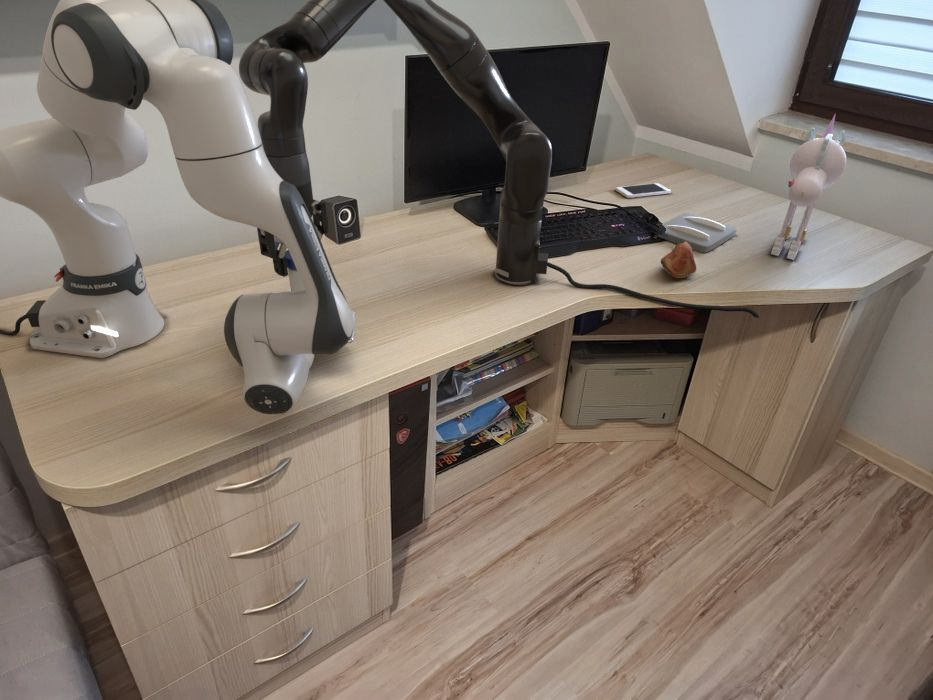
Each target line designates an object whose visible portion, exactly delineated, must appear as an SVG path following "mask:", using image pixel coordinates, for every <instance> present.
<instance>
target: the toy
mask: <svg viewBox="0 0 933 700" xmlns="http://www.w3.org/2000/svg"><path fill="white" fill-rule="evenodd" d="M836 116H837V115H836V112H835V113H834V115H833V116H832V119H831V120H830V122H829V124H828V126H827V128H826V130H825V131H824V133H823V134H822V136H821V137H817V138H816V136H817V128H815V127H810V129H809V130H808V133H807V135H806V136H805V142H804V143H802V144H801V145H800V146H798V148H797V149H796V150H795V151H794V152H793V154H792V156H791V159H790V162H789V173H790V175H791V178H792V180H789V181H788V188H789V189H788V198H789V201H790V202H789V205H788V209H787V212H786V215H785V218H784V221H783V223H782V227H781V230H780V233H779V235H777V236H776V239H775V241H774V243H773V246H772V249H771V253H770V255H772V256H776V257H779V255H780V253H781V252H782V249H783V248H784V246H785V242H786V240H789V238H790V234H791V232H792V227H793V225H792V223H793V219H794V217H795V213H796V211H797V208H798V207H801V208H802V207H804V208H805V210H804V213H803V216H802V219H801V222H800V225H799V227H798V230H797V233H796V237H795V239H793V240H792V242H791V245H790V247H789V250H788V253H787V256H786V259H788V260H792V261H794V260H795V259H796V257H797V255H798V253H799V251H800V249H801V245H802V244H803V243H804V240H805V238H806V235H807V231H808V228H807V227H808V224H809V221H810V218H811V215H812V212H813V209H814V207H815V204H816V202H817V201H818V200H819V199H820V197H821V195H822V193H823V191H824V189H827V188H828V187H831V186H832V185H834V184H835V183H836V182H837V181H838V180H840V178H841V177H842V176H843V174H844V173H845V170H846V168H847V167H846V166H847V154H846V152H845V150H844V148H843V145H844V143H845V141H846V140H847V134H846V131H845V130H840V131H839V132H838V133H837V135H836V137H835V139H833V129H834V125H835V120H836ZM841 135H842V138H841V141H840V137H841Z"/></svg>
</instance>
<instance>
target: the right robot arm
mask: <svg viewBox="0 0 933 700" xmlns="http://www.w3.org/2000/svg"><path fill="white" fill-rule="evenodd" d="M376 1H377V0H307V1H306V2H305V3H303V5H302V6H301V7H300V8H298V10H297V11H296V12H295V13H294V14H292V16H291V17H290V18H289V19H288V20H287V21H286V22H284V23H282V24H280V25H278V26H275V27H274V28H273V29H271V30H269V31H267V32H266V33H264V34H262V35H261V36H259V37H257V38H256V39H254V40H253V41H252V42H251V43H249V45H248V46H247V47H246V48H245V49H244V51H243V52H242V54H241V56H240V59H239V62H238V73H239V74H238V75H239V78H240V80H241V82H242V84H244V86H245V87H246V88H247V89H249V90H251V91H252V92H254V93H257V94H260V95H264V96H269V99H270V104H269V105H270V106H269V110H268V111H264V112H263V113H261V114H260V115H259V116H258V119H257V126H258V129H259V133H260V137H261V141H262V145H263V149H264V152H265V154H266V157H267V159H268V161H269V162H270V164H271V166H272V167H273V169H274V170H275V171H276V173H277V174H278V175H279V176H280V177H281V178H282V179H283V180H284V181H286V182H288V183H290V184H292V185H294V186H295V187H296V188H297V190H298V191H299V193H300V195H301V197H302V198H303V200H304V202H305V204H306V207H307V209H308V211H309V213H310V216H311V218H312V220H313V223H314V225H315V228H316V230H317V233H318V235H319V238H320V240H322V239H323V235H327V234H328V233H329V229H330V228H329V222H328V214H327V205H326V202H324V201H321V200H317V199H314V193H313V186H312V178H311V168H310V162H309V158H308V154H307V149H306V148H307V147H306V139H305V131H304V120H305V119H304V118H305V113H306V105H307V99H308V98H307V96H308V91H309V76H308V72H307V68H306V65H305V64H309V63H316V62H318V61H320V60H321V59H323V58H324V57H325V55H326V54H328V53H329V52H330V50H332V48H333V47H335V46H336V44H337V43H338V42H339V41H340V40H341V39H342V38H343V37H344V36H345V35H346V34H347V33H348V31H349V30H350V29H351V28H352V27H353V26H354V25H355V24H356V22H357V21H358V20H359V19H360V18H361V17H362V16H363V15H364V14H365V13H366V12H367V10H369V8H370V7H371V6H372V5H374V3H375V2H376ZM382 1H383V2H384V3H385V4H386V6H388V8H389V9H390V10H391V11H392V12H393V13H394V14H395V15H396V16H397V18H398V19H399V20H400V21H401V22H402V24H403V25H404V26H405V27H406V28H407V30H408V31H409V32H410V34H411V36H413V38H414V39H415V41H417V43H418V45H420V47H421V48H422V49H423V50H424V52H425V53H426V55H427V56H428V57H429V59H430V60H431V61H432V63H433V64H434V66H435V67H436V69H437V70H438V71H439V73H440V75H441V76H442V77H443V78H444V80H445V81H446V82H447V84H448V85H449V86H450V88H451V89H452V90H453V91H454V93H455V94H456V95H457V96H458V97H459V98H460V99H461V100H462V102H464V103H465V105H466V106H467V107H468V108H469V109H471V110H472V111H473V112H474V113H475V114H476V115H477V117H478V118H479V119H480V120H481V122H483V124H484V125H485V127H486V128H487V130H488V132H489V133H490V135H491V137H492V138H493V140H494V142H495V143H496V145H497V147H498V149H499V151H500V153H501V155H502V157H503V159H504V161H505V162H506V164H505V176H504V186H503V187H502V188H501V191H500V196H499V197H500V198H499V211H498V228H497V244H496V260H495V267H494V277H495V278H496V280H498V281H499V282H502V283H503V284H508V285H510V286H525V285H530V284H537V275H538V274H540V275H547V271H548V268H550V269H552V270H554V271H557V272H560V273H561V274H562V275H564V276H565V278H566V279H567V281H568V282H569V284H570V285H572V286H574V287H576V288H579V289H586V290H587V289H590V290H592V289H593V290H595V289H596V290H598V289H603V290H604V289H605V290H606V289H607V290H613V291H617V292H620V293H624V294H627V295H630V296H634V297H636V298H639V299H644V300H647V301H652V302H655V303H659V304H664V305H667V306H668V305H669V306H673V307H678V308H684V309H690V310H691V309H693V310H705V311H719V312H720V311H721V312H746V313H749V314H750V315H752V316H753V318H757V319H759V318H760V315H759V313H758V312H757V311H756V310H754V309H753V308H751V307H748V306H724V305H711V304H709V305H708V304H696V303H695V304H694V303H687V302H681V301H675V300H670V299H665V298H661V297H658V296H654V295H650V294H646V293H641V292H639V291H635V290H632V289H629V288H625V287H622V286H619V285H614V284H607V283H598V284H597V283H596V284H586V283H585V284H584V283H580V282H577V281H576V280H574V279H573V278H572V276H571V274H570V272H568V271H567V270H566V269H564V268H562V267H560V266H559V265H556V264H554V263H551V262H549V253H547V252H546V253H545V252H540V246H541V244H540V243H541V231H542V222H543V221H542V220H543V213H544V212H543V211H544V201H545V198H546V197H547V193H548V191H549V185H550V184H549V183H550V177H551V170H552V162H553V161H552V160H553V148H552V144H551V141H550V139H549V138H548V136H547V135H546V134H545V133H544V132H543V131H542V130H541V129H540V128H539V127H538V126H537V125H536V124H535V123H534V122H533V121H532V120H531V119H530V118H529V117H528V116H527V114H526V113H525V112H524V111H523V109H522V108H521V107H520V106H519V105H518V103H517V102H516V101H515V100H514V98H513V97H512V95H511V94H510V92H509V90H508V88H507V86H506V83H505V82H504V79H503V76H502V75H501V73H500V70H499V69H498V66H497V64H496V63H495V61H494V59H493V58H492V56H491V54H490V53H489V51H488V50H487V48H486V46H485V45H484V44H483V42H482V41H481V39H480V37H478V35H477V33H476V32H475V31H474V30H473V28H472V27H470V26H469V25H468V24H467V23H466V22H464V21H463V20H462V19H460V18H458V16H456V15H454V14H452V13H451V12H450V11H447V10H446V9H445V8H443V7H442V6H441V5H439V4H437V3H436V2H435V1H433V0H382ZM256 230H257V237H258V243H259V249H260V250H259V251H260V254H261V256H265V257H267V258H270V259H271V260H272V264H273V270H274V273H276V274H277V276H280V277H282V278H286V277H287V276H289V274H288V268H287V262H286V257H285V256H284V255H285V252H286V251H287V250H288V248H287V247H286V245H285V244H284V243H283V242H282V241H281V240H280V239H279V238H277V237H276V236H274V235H273V234H271V233H269V232H267V231H264V230H262V229H259V228H257V227H256Z"/></svg>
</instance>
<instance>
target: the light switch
mask: <svg viewBox="0 0 933 700" xmlns="http://www.w3.org/2000/svg"><path fill="white" fill-rule="evenodd" d="M661 224H662V225H663V226H664V227H665V228H666V231H665V234H667V235H668V237H665V236H662V235H658V236H657V235H654V236H655V237H657V238H659V239H663V240H665V241H669V242H671V243H674V244H676V245H678V244H681V243H684V242H685V241H687V242H688V243H689V245H690V246H691V248H692V250H694V251H697V252H699V253H709V252H711V251H712V250H714V249H716V248H717V247H719V246H720V245H722V244H724V243H725V242H727V241H730V239H732V238H734V237H736V234H737V228H736V227H734V226H732V225H729V224H725V223H722V222H719V221H716V220H713V219H710V218H707V217H703V216H700V215H697V214H694V213H690V212H683V213H682V214H679V215H677V216H675V217H673V218H671V219H669V220H668V221H666V222H663V223H661Z"/></svg>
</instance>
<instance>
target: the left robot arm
mask: <svg viewBox="0 0 933 700" xmlns="http://www.w3.org/2000/svg"><path fill="white" fill-rule="evenodd" d="M233 57H234V39H233V35H232V32H231V28H230V26H229V24H228V22H227V19H226V18H225V16H224V15H223V12H221V10H220V9H219V8H218V7H217V6H216V5H215V4H214V3H213V2H211V1H209V0H59V1H58V3H57V5H56V7H55V8H54V10H53V13H52V15H51V18H50V21H49V23H48V26H47V30H46V32H45V36H44V41H43V46H42V52H41V57H40V64H39V68H38V69H39V70H38V76H37V82H36V92H37V96H38V99H39V102H40V103H41V105H42V107H43V108H44V110H45V111H46V112H47V114H49V115H50V118H47V119H41V120H36V121H32V122H27V123H22V124H17V125H12V126H9V127H6V128H3V129H1V130H0V197H1V198H2V199H4V200H6V201H9V202H11V203H14V204H17V205H20V206H23V207H24V208H26V209H29V211H31V212H33V213H34V214H36V215H37V216H38V217H39V218H40V219H41V220H42V221H43V222H44V223H45V224H46V226H47V227H48V228H49V229H50V232H51V233H52V234H53V237H54V239H55V241H56V244H57V246H58V248H59V250H60V252H61V255H62V258H63V260H64V265H63V266H61V267H60V268H59V271H58V272H57V273H56V274H54V276H53V278H55V282H56V283H58V282H59V281H60V280H61V279H62V280H63V281H62V285H61V286H60V287H59V288H58V289H56V290H55V291H54V292H53V293H52V294H50V296H49V297H48V298H47V299H44V300H41V299H40V300H36V301H35V303H33V304H32V306H31V307H30V308H29V309H28V310H27V312H26V313H25V314H24V315H22V316H20V317H19V318H18V319H17V320H16V322H15V325H14V330H12V331H6V330H3V329H0V334H1V335H4V336H16V335H18V334H19V333H20V331H21V324H22V323H23V322H24V321H25V320H28V322H29V324H30V327H31V328H35V329H34V330H33V332H32V333H31V335H30V337H29V344H30V348H31V349H32V350H39V351H45V352H46V351H47V352H53V353H54V352H55V353H60V354H69V355H75V356H76V355H77V356H83V357H89V358H98V359H104V358H107V357H111V356H113V355H114V354H117V353H118V352H120V351H123V350H126V349H130V348H134V347H137V346H140V345H142V344H144V343H146V342H149V341H151V340H152V339H154V338H155V337H156V336H158V335H159V334H160V333H161V332H162V331H163V329H164V327H165V319H164V317H163V316H162V315H161V313H160V312H159V310H158V309H157V307H156V305H155V303H154V301H153V299H152V297H151V294H150V292H149V290H148V287H147V281H146V280H147V279H146V275H145V272H144V268H143V265H142V262H141V259H140V256H139V255H138V254H137V253H136V250H135V247H134V242H133V238H132V236H131V232H130V228H129V225H128V222H127V220H126V219H125V217H124V215H122V214H121V213H120V212H119V211H118V210H116V209H115V208H112V207H110V206H108V205H104V204H99V203H96V202H95V203H94V202H89V200H88V198H87V196H86V193H85V188H87V187H90V186H94V185H97V184H100V183H103V182H107V181H111V180H115V179H118V178H121V177H123V176H125V175H127V174H130V173H131V172H133V171H135V170H136V169H138V168H139V167H141V166H143V165H144V164H145V163H146V162H147V159H148V155H149V142H148V141H149V140H148V138H147V135H146V132H145V131H144V129H143V127H142V125H140V123H139V122H138V121H137V120H136V119H135V118H134V117H133V116H132V115H130V114H129V113H128V112H126V109H128V110H132V111H135V110H137V109H138V108H139V107H140V105H141V104H142V102H143V100H144V101H146V102H148V103H149V104H150V105H152V106H153V107H155V109H156V110H158V112H159V113H160V115H161V116H162V118H163V120H164V123H165V125H166V129H167V133H168V136H169V141H170V144H171V149H172V151H173V155H174V158H175V162H176V165H177V169H178V171H179V175H180V178H181V180H182V183H183V186H184V188H185V189H186V191H187V193H188V195H189V196H190V198H191V199H192V200H193V201H194V202H195V203H196V204H198V205H199V206H200V207H201V208H203V210H206V211H207V212H209V213H211V214H213V215H214V216H216V217H219V218H222V219H224V220H227V221H232V222H236V223H240V224H244V225H247V226H251V227H254V228H256V229H257V228H259V229H262V230H264V231H267V232H269V233H271V234H273V235H274V236H276V237H277V238H279V239H280V240H281V241H282V242H283V243H284V244H285V245H286V247H287V250H289V252H290V255H291V257H292V259H293V262H294V264H295V267H296V269H297V271H298V274H299V276H300V278H301V281H302V283H303V285H304V288H305V290H302V291H291V290H290V291H279V292H278V291H276V292H274V291H273V292H271V291H269V292H258V293H249V294H241V295H239V296H238V297H237V298H236V299H235V300H234V301H233V303H232V304H231V306H230V308H229V309H228V311H227V313H226V316H225V319H224V324H223V335H224V339H225V343H226V346H227V349H228V351H229V352H230V354H231V356H232V357H233V358H234V360H235V361H236V363H238V365H239V366H240V367H241V368H242V370H243V385H242V386H243V387H242V395H243V400H244V402H245V404H246V405H247V406H248V407H249V408H250V409H251V410H253V411H255V412H258V413H260V414H264V415H281V414H286V413H287V412H289V411H290V410H292V409H293V408H294V407H295V406H296V404H297V403H298V402H299V400H300V398H301V396H302V393H303V392H304V390H305V387H306V385H307V381H308V378H309V375H310V374H309V373H310V368H311V367H312V364H313V362H314V359H315V356H317V355H318V356H320V355H323V356H324V355H327V356H328V355H329V356H334V355H336V354H337V353H338V352H340V351H341V350H342V349H343V348H344V347H345V346H346V345H348V344H352V343H353V342H354V340H355V335H356V330H357V328H358V327H357V325H358V324H357V322H358V321H357V314H356V312H355V310H352V309H351V308H350V305H349V302H348V301H347V298H346V296H345V294H344V292H343V290H342V288H341V286H340V285H339V283H338V281H337V278H336V276H335V274H334V271H333V268H332V266H331V263H330V261H329V258H328V255H327V254H326V253H327V252H326V250H325V248H324V245H323V243H322V241H321V240H322V239H321V240H320V238H319V235H318V233H317V230H316V228H315V225H314V222H313V217H311V216H310V213H309V211H308V209H307V207H306V204H305V202H304V200H303V198H302V197H301V195H300V193H299V191H298V190H297V188H296V187H295V186H294V185H292V184H290V183H288V182H286V181H284V180H283V179H282V178H281V177H280V176H279V175H278V174H277V173H276V171H275V170H274V169H273V167H272V166H271V164H270V162H269V161H268V159H267V157H266V154H265V152H264V149H263V145H262V141H261V137H260V133H259V129H258V121H257V119H256V116H255V113H254V110H253V107H252V105H251V102H250V99H249V96H248V94H247V92H246V89H245V87H244V85H243V82H242V80H241V78H240V75H239V74H238V73H237V71H236V70H235V69H234V67H232V66H231V65H232V61H233Z"/></svg>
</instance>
